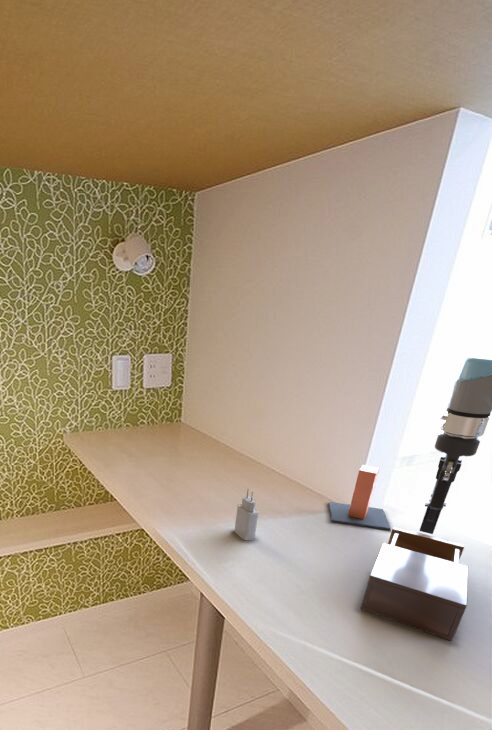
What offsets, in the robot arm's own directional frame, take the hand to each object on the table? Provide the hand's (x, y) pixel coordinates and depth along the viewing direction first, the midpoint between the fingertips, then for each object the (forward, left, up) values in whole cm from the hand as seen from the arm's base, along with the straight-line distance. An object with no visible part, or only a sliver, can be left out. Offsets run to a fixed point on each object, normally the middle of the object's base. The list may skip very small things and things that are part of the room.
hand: (426, 531), depth 102 cm
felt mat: (+13, -12, -4) cm, 18 cm away
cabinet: (+8, +26, -4) cm, 28 cm away
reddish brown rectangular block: (+13, -12, -3) cm, 18 cm away
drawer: (+4, +13, -3) cm, 14 cm away
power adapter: (+41, +9, -4) cm, 42 cm away
